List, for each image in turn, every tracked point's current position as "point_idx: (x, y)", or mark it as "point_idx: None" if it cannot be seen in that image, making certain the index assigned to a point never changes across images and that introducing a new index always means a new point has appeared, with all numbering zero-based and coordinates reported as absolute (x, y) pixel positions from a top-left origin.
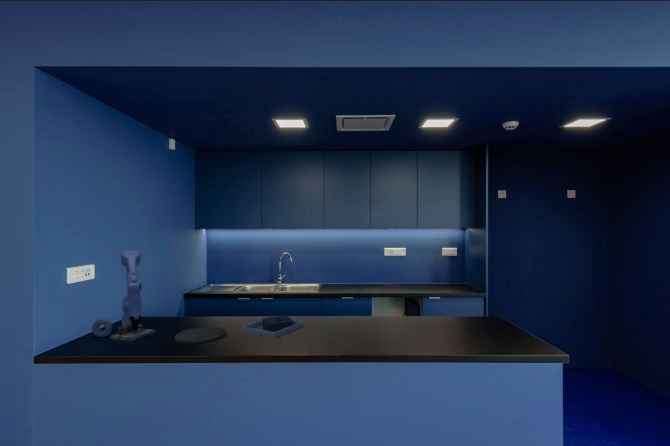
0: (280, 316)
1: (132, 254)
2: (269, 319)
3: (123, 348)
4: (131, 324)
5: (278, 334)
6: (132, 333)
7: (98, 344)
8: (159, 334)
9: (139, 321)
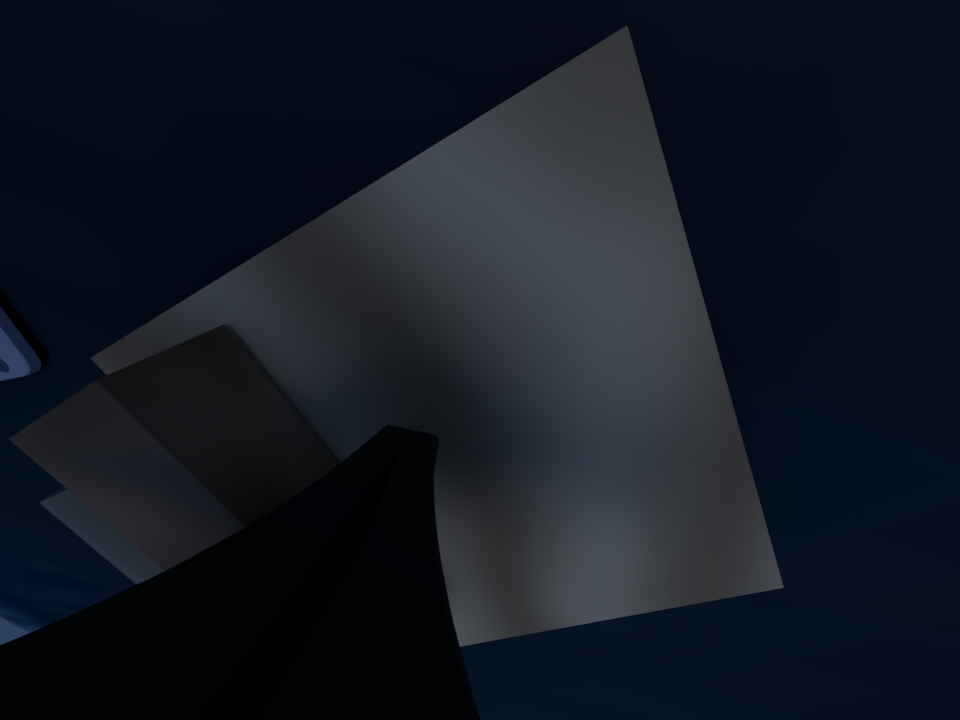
0: None
1: None
2: None
3: (953, 687)
4: (156, 527)
5: None
6: (490, 499)
7: (521, 713)
8: (892, 38)
9: (450, 630)
